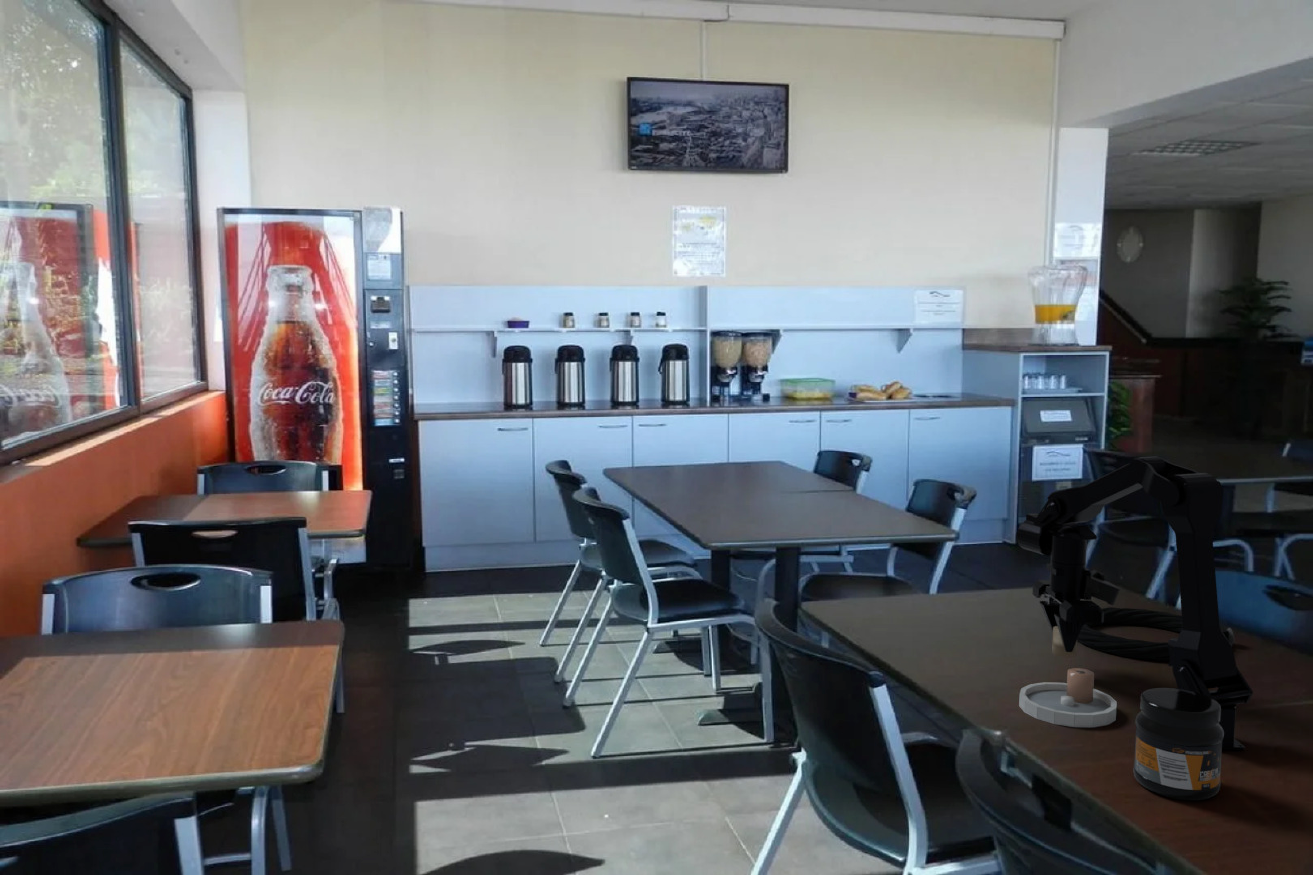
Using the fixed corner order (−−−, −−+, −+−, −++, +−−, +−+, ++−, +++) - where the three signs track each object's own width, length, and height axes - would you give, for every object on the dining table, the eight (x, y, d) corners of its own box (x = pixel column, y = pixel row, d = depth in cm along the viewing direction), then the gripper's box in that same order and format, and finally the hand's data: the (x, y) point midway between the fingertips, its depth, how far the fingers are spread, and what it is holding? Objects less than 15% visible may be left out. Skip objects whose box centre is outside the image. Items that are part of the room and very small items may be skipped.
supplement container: (1170, 807, 130) (1175, 717, 129) (1115, 773, 140) (1119, 689, 139) (1239, 799, 133) (1244, 710, 131) (1180, 765, 143) (1184, 683, 142)
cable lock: (1055, 601, 216) (1208, 609, 210) (1055, 619, 216) (1207, 627, 210) (1083, 640, 189) (1259, 650, 183) (1082, 660, 189) (1258, 670, 183)
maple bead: (1079, 657, 177) (1080, 632, 176) (1056, 657, 177) (1057, 632, 176) (1071, 650, 181) (1072, 625, 180) (1048, 650, 181) (1049, 625, 180)
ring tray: (1131, 728, 156) (1131, 715, 156) (1036, 726, 157) (1036, 714, 157) (1095, 694, 170) (1096, 683, 170) (1008, 693, 171) (1009, 681, 171)
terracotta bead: (1097, 699, 165) (1099, 672, 165) (1084, 705, 163) (1085, 677, 162) (1074, 692, 168) (1076, 666, 168) (1061, 698, 166) (1062, 671, 166)
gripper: (1137, 574, 167) (1133, 666, 169) (1094, 550, 186) (1091, 632, 188) (1069, 573, 168) (1065, 665, 170) (1033, 549, 187) (1030, 632, 188)
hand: (1064, 648), depth 179 cm, fingers closed on maple bead, 4 cm apart
